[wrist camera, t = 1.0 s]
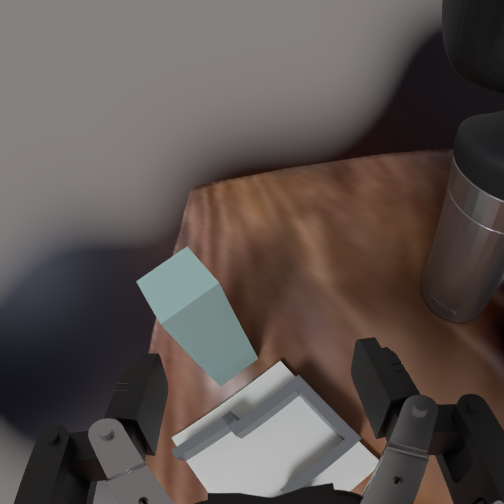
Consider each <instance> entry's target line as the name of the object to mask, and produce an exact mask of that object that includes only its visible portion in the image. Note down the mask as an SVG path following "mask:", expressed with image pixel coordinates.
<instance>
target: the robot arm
mask: <svg viewBox="0 0 504 504" xmlns="http://www.w3.org/2000/svg"><path fill="white" fill-rule="evenodd" d="M442 30H443V39H444V45H445V49H446V53H447V56H448V59H449V61H450V63H451V65H452V66H453V68H454V70H455V71H456V72H457V73H458V74H459V75H460V76H461V77H462V78H464V79H465V80H467V81H469V82H471V83H473V84H475V85H477V86H480V87H482V88H485V89H488V90H491V91H492V90H493V91H496V92H499V93H502V94H504V0H443V3H442ZM503 279H504V110H503V111H500V112H495V113H489V114H482V115H476V116H472V117H470V118H467V119H466V120H464V121H463V122H462V123H461V124H460V126H459V128H458V130H457V133H456V139H455V146H454V151H453V158H452V164H451V169H450V175H449V180H448V185H447V190H446V194H445V199H444V203H443V207H442V211H441V215H440V219H439V223H438V226H437V230H436V234H435V237H434V241H433V244H432V247H431V251H430V254H429V257H428V260H427V263H426V266H425V269H424V272H423V275H422V280H421V290H422V295H423V297H424V299H425V302H426V303H427V305H428V306H429V307H430V309H431V310H432V311H433V312H434V313H435V314H437V315H438V316H440V317H441V318H443V319H446V320H448V321H451V322H457V323H460V322H467V321H471V320H473V319H475V318H476V317H478V316H479V315H480V314H481V313H482V311H483V310H484V308H485V307H486V305H487V304H488V302H489V301H490V299H491V298H492V296H493V295H494V293H495V292H496V290H497V289H498V287H499V285H500V284H501V282H502V280H503ZM351 375H352V380H353V383H354V385H355V387H356V390H357V392H358V395H359V397H360V400H361V402H362V405H363V407H364V410H365V412H366V415H367V417H368V420H369V422H370V425H371V427H372V430H373V432H374V435H375V438H376V439H379V438H383V437H385V438H386V440H387V444H386V446H385V448H384V451H383V453H382V455H381V457H380V460H379V462H378V464H377V466H376V468H375V470H374V472H373V475H372V477H371V479H370V481H369V483H368V484H367V486H366V488H365V490H364V492H363V494H362V496H361V495H359V494H356V493H353V492H350V491H345V490H334V486H333V483H328V484H322V485H316V486H310V487H303V488H300V489H297V490H294V491H291V492H288V493H285V494H282V495H279V496H276V497H262V496H255V495H249V494H243V493H208V500H205V501H201V502H198V503H195V504H413V503H414V500H415V497H416V495H417V492H418V489H419V487H420V484H421V481H422V478H423V475H424V472H425V469H426V466H427V463H428V459H429V455H435V456H436V459H437V461H438V464H439V466H440V469H441V471H442V474H443V476H444V479H445V481H446V484H447V487H448V489H449V492H450V495H451V498H452V500H453V503H454V504H504V431H503V429H502V427H501V426H500V424H499V422H498V421H497V419H496V417H495V416H494V414H493V412H492V411H491V409H490V408H489V406H488V404H487V403H486V401H485V400H484V399H483V398H482V397H480V396H478V395H475V394H466V395H463V396H462V397H461V398H460V399H459V400H458V402H457V404H449V405H438V404H436V402H435V401H434V400H433V399H431V398H430V397H428V396H424V395H421V394H420V393H419V391H418V389H417V388H416V386H415V384H414V383H413V381H412V379H411V378H410V376H409V374H408V373H407V371H405V368H404V366H403V364H401V361H400V360H399V358H398V356H397V355H396V354H395V353H394V352H393V351H391V350H390V349H389V348H387V347H385V348H381V346H380V345H379V343H378V341H377V340H376V338H374V337H372V338H366V339H359V340H357V341H356V343H355V349H354V355H353V361H352V367H351ZM167 395H168V382H167V378H166V375H165V371H164V368H163V365H162V361H161V358H160V355H159V354H140V355H139V358H138V360H137V363H136V365H130V366H128V367H127V368H126V369H125V370H124V372H122V374H121V376H120V378H119V381H118V384H117V386H116V389H115V392H114V394H113V397H112V399H111V401H110V404H109V407H108V409H107V412H106V415H105V417H104V419H102V420H99V421H97V422H96V423H94V424H93V425H92V426H91V428H90V430H89V431H84V432H76V433H69V432H68V431H67V430H66V428H65V427H63V426H61V425H50V426H47V427H46V428H44V429H43V430H42V431H41V432H40V434H39V436H38V439H37V441H36V443H35V446H34V449H33V451H32V453H31V456H30V459H29V461H28V464H27V467H26V469H25V472H24V475H23V478H22V481H21V483H20V486H19V490H18V493H17V496H16V499H15V502H14V504H93V499H94V495H95V490H96V485H97V481H102V480H106V481H107V483H108V485H109V488H110V490H111V491H112V493H113V495H114V497H115V499H116V500H117V502H118V504H174V503H173V501H172V500H171V499H170V497H169V496H168V495H167V493H166V492H165V491H164V489H163V488H162V486H161V485H160V484H159V482H158V481H157V479H156V478H155V477H154V475H153V474H152V472H151V471H150V469H149V468H148V466H147V465H146V463H145V457H146V455H154V456H155V454H156V448H157V443H158V438H159V433H160V428H161V424H162V419H163V414H164V409H165V405H166V400H167Z"/></svg>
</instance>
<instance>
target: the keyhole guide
mask: <svg viewBox="0 0 504 504" xmlns="http://www.w3.org/2000/svg"><path fill="white" fill-rule="evenodd" d="M172 439H173V441H174V443H175V444H176V446H177V447H175V448H174V449H172V450H171V451H172V453H173V455H174V456H175V458H176V459H180V460H185V461H187V463H188V464H189V466H190V467H191V469H192V470H193V472H194V473H195V474H196V476H197V477H198V479H199V480H200V482H201V483H202V484H203V486H204V487H205V489H206V490H207V491H208V493H243V494H249V495H255V496H262V497H276V496H279V495H282V494H285V493H288V492H291V491H294V490H297V489H300V488H303V487H310V486H316V485H322V484H328V483H333V486H334V490H345V491H351V490H352V489H353V488H354V487H355V486H357V485H358V484H359V483H360V482H361V481H362V480H364V479H365V478H366V477H367V476H368V475H369V474H370V473H372V472H373V471H374V470H375V468H376V466H377V464H378V462H379V460H378V459H377V458H376V457H375V456H374V455H373V454H372V453H371V452H370V451H368V450H367V449H366V448H365V447H364V446H363V445H362V444H361V443H360V442H359V441H360V440H361V439H362V438H361V437H360V436H359V435H358V434H357V433H356V432H355V431H354V430H353V429H352V428H351V427H350V426H349V425H348V424H347V423H346V422H345V421H344V420H343V419H342V418H341V417H340V416H339V415H338V414H337V413H336V412H335V411H334V410H333V409H332V408H331V407H330V406H329V405H328V404H327V403H326V402H325V401H324V400H323V399H322V398H321V397H320V396H319V395H318V394H317V393H316V392H315V391H314V390H313V389H312V388H311V387H310V386H309V385H308V384H307V383H306V382H305V381H304V380H303V379H302V378H301V377H300V376H299V375H298V376H296V377H295V376H294V375H293V374H292V373H291V372H290V371H289V369H288V368H287V367H286V366H285V365H284V364H283V363H282V362H281V361H279V362H278V363H276V364H275V365H274V366H273V367H271V368H270V369H269V370H267V371H266V372H265V373H263V374H262V375H261V376H260V377H258V378H257V379H256V380H254V381H253V382H252V383H250V384H249V385H248V386H246V387H245V388H244V389H242V390H241V391H239V392H238V393H237V394H235V395H234V396H233V397H231V398H230V399H228V400H227V401H226V402H224V403H223V404H221V405H220V406H219V407H217V408H216V409H214V410H213V411H211V412H210V413H208V414H207V415H205V416H204V417H203V418H201V419H200V420H198V421H197V422H195V423H194V424H192V425H191V426H189V427H188V428H186V429H184V430H183V431H181V432H180V433H178V434H177V435H175V436H174V437H172Z"/></svg>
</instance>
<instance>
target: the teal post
mask: <svg viewBox="0 0 504 504" xmlns="http://www.w3.org/2000/svg"><path fill="white" fill-rule="evenodd" d="M137 283H138V285H139V287H140V289H141V291H142V292H143V294H144V296H145V298H146V299H147V301H148V303H149V305H150V307H151V308H152V310H153V312H154V313H155V315H156V317H157V319H158V320H159V322H160V324H161V325H162V326H163V327H164V328H165V329H166V330H167V331H168V333H169V334H170V335H171V336H172V337H173V338H174V339H175V340H176V341H177V342H178V343H179V345H180V346H181V347H182V348H183V349H184V350H185V351H186V352H187V353H188V354H189V355H190V356H191V357H192V358H193V359H194V360H195V361H196V362H197V363H198V364H199V365H200V366H201V367H202V368H203V369H204V370H205V371H206V372H207V373H208V374H209V375H210V376H211V377H212V378H213V379H214V380H215V381H216V382H217V383H218V384H219V385H220V386H222V385H223V384H225V383H226V382H227V381H229V380H230V379H231V378H233V377H234V376H236V375H237V374H238V373H240V372H241V371H242V370H244V369H245V368H246V367H248V366H249V365H250V364H252V363H253V362H254V361H256V360H257V359H258V357H257V355H256V353H255V352H254V350H253V348H252V346H251V344H250V342H249V340H248V338H247V336H246V335H245V333H244V331H243V329H242V327H241V325H240V323H239V321H238V319H237V317H236V315H235V313H234V311H233V309H232V307H231V306H230V304H229V302H228V300H227V298H226V296H225V294H224V292H223V290H222V288H221V286H220V284H219V282H218V281H217V280H216V279H215V278H214V277H213V275H212V274H211V273H210V272H209V271H208V270H207V269H206V267H205V266H204V265H203V264H202V263H201V262H200V261H199V259H198V258H197V257H196V256H195V255H194V254H193V253H192V251H191V250H190V249H189V248H188V247H186V248H184V249H183V250H181V251H180V252H178V253H177V254H175V255H174V256H173V257H171V258H170V259H168V260H167V261H165V262H164V263H162V264H161V265H160V266H158V267H157V268H155V269H154V270H152V271H151V272H149V273H148V274H147V275H145V276H144V277H142V278H141V279H140V280H138V281H137Z"/></svg>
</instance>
